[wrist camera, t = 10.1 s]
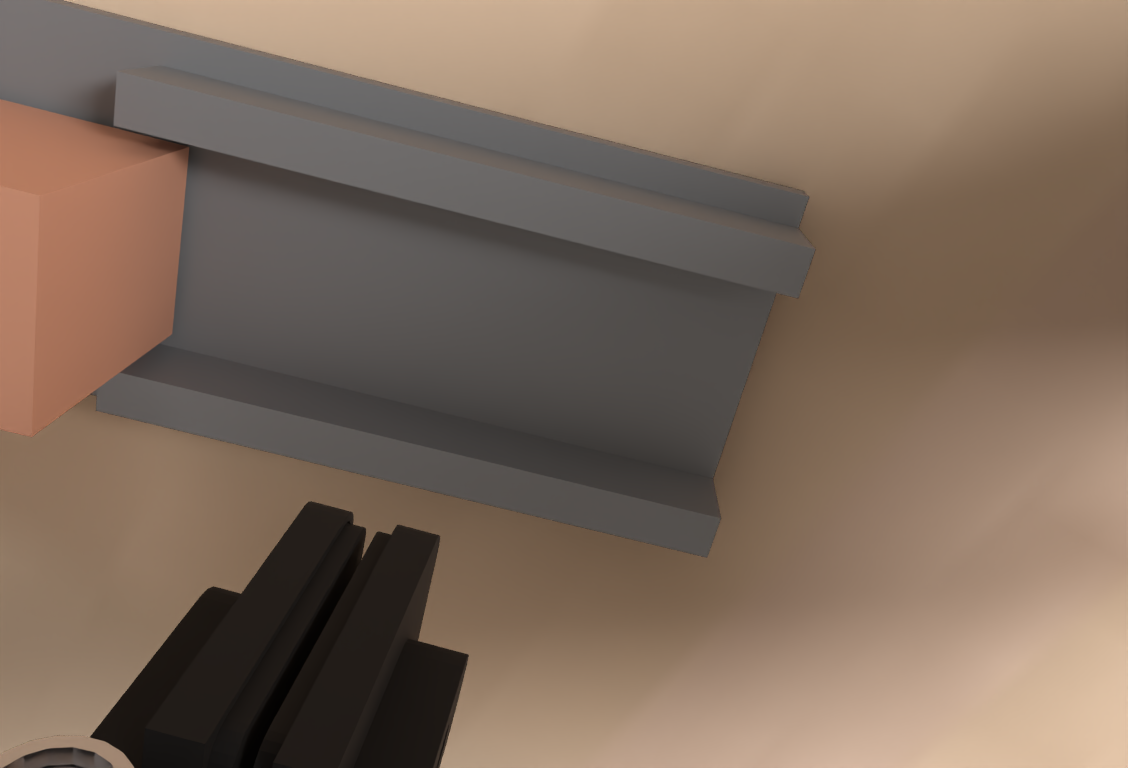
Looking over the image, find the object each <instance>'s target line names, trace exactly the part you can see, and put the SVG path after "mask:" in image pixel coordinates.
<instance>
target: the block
mask: <svg viewBox="0 0 1128 768" xmlns="http://www.w3.org/2000/svg"><path fill="white" fill-rule="evenodd" d="M188 156H189V147H188V146H184V145H180V144H176V143H172V142H168V141H164V140H160V139H156V138H152V137H148V136H144V135H140V134H137V133H133V132H129V131H125V130H121V129H117V128H113V127H109V126H105V125H101V124H97V123H93V122H89V121H85V120H81V119H77V118H73V117H69V116H65V115H61V114H57V113H53V112H49V111H45V110H41V109H38V108H34V107H30V106H26V105H22V104H18V103H14V102H10V101H6V100H2V99H0V430H4V431H9V432H13V433H17V434H21V435H25V436H30V437H32V436H34V435H35V434H36V433H38V432H39V431H41V430H42V429H43V428H45V427H46V426H47V425H49V424H50V423H51V422H53V421H54V420H56V419H57V418H58V417H60V416H61V415H62V414H64V413H65V412H66V411H68V410H69V409H71V408H72V407H73V406H75V405H76V404H77V403H79V402H80V401H81V400H83V399H84V398H86V397H87V396H88V395H90V394H91V393H92V392H94V391H95V390H96V389H98V388H99V387H101V386H102V385H103V384H105V383H106V382H107V381H109V380H110V379H111V378H113V377H114V376H116V375H117V374H118V373H120V372H121V371H122V370H124V369H125V368H126V367H128V366H129V365H131V364H132V363H133V362H135V361H136V360H137V359H139V358H140V357H141V356H143V355H144V354H146V353H147V352H148V351H150V350H151V349H152V348H154V347H155V346H156V345H158V344H159V343H161V342H162V341H163V340H165V339H166V338H167V337H169V336H170V335H171V334H172V330H173V319H174V309H175V298H176V287H177V276H178V265H179V254H180V243H181V232H182V222H183V211H184V200H185V189H186V178H187V167H188Z"/></svg>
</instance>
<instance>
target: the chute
mask: <svg viewBox="0 0 1128 768" xmlns="http://www.w3.org/2000/svg"><path fill="white" fill-rule="evenodd" d="M0 99H2V100H6V101H10V102H14V103H18V104H22V105H26V106H30V107H34V108H38V109H41V110H45V111H49V112H53V113H57V114H61V115H65V116H69V117H73V118H77V119H81V120H85V121H89V122H93V123H97V124H101V125H105V126H109V127H113V128H117V129H121V130H125V131H129V132H133V133H137V134H140V135H144V136H148V137H152V138H156V139H160V140H164V141H168V142H172V143H176V144H180V145H184V146H188V147H189V156H188V167H187V178H186V189H185V200H184V211H183V222H182V232H181V243H180V254H179V265H178V276H177V287H176V298H175V309H174V319H173V330H172V334H171V335H170V336H169V337H167V338H166V339H165V340H163V341H162V342H161V343H159V344H158V345H156V346H155V347H154V348H152V349H151V350H150V351H148V352H147V353H146V354H144V355H143V356H141V357H140V358H139V359H137V360H136V361H135V362H133V363H132V364H131V365H129V366H128V367H126V368H125V369H124V370H122V371H121V372H120V373H118V374H117V375H116V376H114V377H113V378H111V379H110V380H109V381H107V382H106V383H105V384H103V385H102V386H101V387H99V388H98V389H96V390H95V391H94V392H92V393H91V395H95V396H97V401H96V411H100V412H104V413H108V414H112V415H116V416H120V417H125V418H129V419H133V420H137V421H141V422H145V423H149V424H154V425H158V426H162V427H166V428H170V429H174V430H179V431H183V432H187V433H191V434H195V435H199V436H204V437H208V438H212V439H216V440H220V441H224V442H228V443H233V444H237V445H241V446H245V447H249V448H253V449H258V450H262V451H266V452H270V453H274V454H278V455H283V456H287V457H291V458H295V459H299V460H303V461H307V462H312V463H316V464H320V465H324V466H328V467H332V468H337V469H341V470H345V471H349V472H353V473H357V474H362V475H366V476H370V477H374V478H378V479H382V480H386V481H391V482H395V483H399V484H403V485H407V486H411V487H416V488H420V489H424V490H428V491H432V492H436V493H441V494H445V495H449V496H453V497H457V498H461V499H465V500H470V501H474V502H478V503H482V504H486V505H490V506H495V507H499V508H503V509H507V510H511V511H515V512H520V513H524V514H528V515H532V516H536V517H540V518H544V519H549V520H553V521H557V522H561V523H565V524H569V525H574V526H578V527H582V528H586V529H590V530H594V531H599V532H603V533H607V534H611V535H615V536H619V537H623V538H628V539H632V540H636V541H640V542H644V543H648V544H653V545H657V546H661V547H665V548H669V549H673V550H678V551H682V552H686V553H690V554H694V555H698V556H702V557H708V554H709V551H710V548H711V546H712V543H713V540H714V537H715V534H716V531H717V528H718V526H719V523H720V520H721V516H720V511H719V506H718V501H717V496H716V491H715V486H714V481H713V477H714V474H715V471H716V468H717V466H718V463H719V460H720V457H721V454H722V451H723V448H724V445H725V442H726V439H727V436H728V433H729V430H730V427H731V425H732V422H733V419H734V416H735V413H736V410H737V407H738V404H739V401H740V398H741V395H742V392H743V389H744V387H745V384H746V381H747V378H748V375H749V372H750V369H751V366H752V363H753V360H754V357H755V354H756V351H757V348H758V346H759V343H760V340H761V337H762V334H763V331H764V328H765V325H766V322H767V319H768V316H769V313H770V310H771V307H772V305H773V302H774V299H775V296H776V293H778V294H782V295H786V296H790V297H794V298H799V295H800V292H801V289H802V287H803V284H804V281H805V278H806V275H807V272H808V270H809V267H810V264H811V261H812V258H813V255H814V252H815V250H816V249H815V248H814V247H813V245H812V244H811V243H810V242H809V240H808V239H807V238H806V237H805V236H804V234H803V233H802V232H801V231H800V229H799V225H800V223H801V220H802V217H803V214H804V211H805V208H806V205H807V202H808V199H809V196H808V195H807V194H806V193H805V192H804V191H801V190H797V189H794V188H790V187H786V186H782V185H778V184H774V183H770V182H766V181H762V180H759V179H755V178H751V177H747V176H743V175H739V174H735V173H731V172H727V171H724V170H720V169H716V168H712V167H708V166H704V165H700V164H696V163H693V162H689V161H685V160H681V159H677V158H673V157H669V156H665V155H661V154H658V153H654V152H650V151H646V150H642V149H638V148H634V147H630V146H626V145H623V144H619V143H615V142H611V141H607V140H603V139H599V138H595V137H591V136H588V135H584V134H580V133H576V132H572V131H568V130H564V129H560V128H557V127H553V126H549V125H545V124H541V123H537V122H533V121H529V120H525V119H522V118H518V117H514V116H510V115H506V114H502V113H498V112H494V111H490V110H487V109H483V108H479V107H475V106H471V105H467V104H463V103H459V102H455V101H452V100H448V99H444V98H440V97H436V96H432V95H428V94H424V93H421V92H417V91H413V90H409V89H405V88H401V87H397V86H393V85H389V84H386V83H382V82H378V81H374V80H370V79H366V78H362V77H358V76H354V75H351V74H347V73H343V72H339V71H335V70H331V69H327V68H323V67H319V66H316V65H312V64H308V63H304V62H300V61H296V60H292V59H288V58H285V57H281V56H277V55H273V54H269V53H265V52H261V51H257V50H253V49H250V48H246V47H242V46H238V45H234V44H230V43H226V42H222V41H218V40H215V39H211V38H207V37H203V36H199V35H195V34H191V33H187V32H183V31H180V30H176V29H172V28H168V27H164V26H160V25H156V24H152V23H149V22H145V21H141V20H137V19H133V18H129V17H125V16H121V15H117V14H114V13H110V12H106V11H102V10H98V9H94V8H90V7H86V6H82V5H79V4H75V3H71V2H67V1H63V0H0Z"/></svg>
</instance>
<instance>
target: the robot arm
mask: <svg viewBox="0 0 1128 768" xmlns="http://www.w3.org/2000/svg"><path fill="white" fill-rule="evenodd" d="M365 537H366V529H365V528H364V527H360V526H356V525H353V513H352V512H349V511H345V510H342V509H338V508H334V507H330V506H327V505H323V504H319V503H315V502H312V501H311V502H308V503H307V504H306V505H305V506H304V508H303V509H302V510H301V512H300V513H299V515H298V516H297V517H296V519H295V520H294V521H293V523H292V524H291V526H290V527H289V528H288V530H287V531H286V533H285V534H284V535H283V537H282V538H281V540H280V541H279V542H278V544H277V545H276V546H275V548H274V549H273V551H272V552H271V553H270V555H269V556H268V558H267V559H266V560H265V562H264V563H263V565H262V566H261V567H260V569H259V570H258V572H257V573H256V574H255V576H254V577H253V578H252V580H251V581H250V583H249V584H248V585H247V587H246V588H245V590H244V591H243V592H242V594H240V593H236V592H232V591H228V590H225V589H221V588H217V587H211V588H209V589H207V590H206V591H205V592H204V593H203V594H202V595H201V596H200V598H199V599H198V600H197V601H196V603H195V604H194V605H193V607H192V608H191V609H190V610H189V612H188V613H187V614H186V616H185V617H184V618H183V619H182V621H181V622H180V623H179V624H178V626H177V627H176V628H175V630H174V631H173V632H172V633H171V635H170V636H169V637H168V638H167V640H166V641H165V642H164V644H163V645H162V646H161V647H160V649H159V650H158V651H157V652H156V654H155V655H154V656H153V658H152V659H151V660H150V661H149V663H148V664H147V665H146V666H145V668H144V669H143V670H142V672H141V673H140V674H139V675H138V677H137V678H136V679H135V680H134V682H133V683H132V684H131V686H130V687H129V688H128V689H127V691H126V692H125V693H124V694H123V696H122V697H121V698H120V700H119V701H118V702H117V703H116V705H115V706H114V707H113V709H112V710H111V711H110V712H109V714H108V715H107V716H106V717H105V719H104V720H103V721H102V723H101V724H100V725H99V726H98V728H97V729H96V730H95V731H94V733H93V734H92V735H91V737H86V736H65V735H57V736H52V737H46V738H41V739H36V740H31V741H28V742H26V743H23V744H21V745H19V746H16V747H14V748H11V749H9V750H6V751H4V752H3V753H2V754H0V768H439V767H440V764H441V760H442V757H443V753H444V750H445V746H446V743H447V739H448V736H449V732H450V728H451V725H452V721H453V717H454V713H455V709H456V706H457V702H458V698H459V694H460V690H461V686H462V682H463V678H464V674H465V670H466V666H467V661H468V657H469V655H468V654H464V653H460V652H456V651H453V650H449V649H445V648H441V647H438V646H434V645H430V644H427V643H423V642H419V641H418V638H419V633H420V629H421V624H422V620H423V615H424V611H425V606H426V602H427V597H428V593H429V588H430V584H431V579H432V575H433V570H434V566H435V561H436V557H437V552H438V548H439V542H440V536H439V535H435V534H431V533H428V532H424V531H420V530H416V529H413V528H409V527H405V526H401V525H397V526H396V528H395V529H394V531H393V533H392V535H390V534H386V533H382V532H377V533H376V535H375V536H374V538H373V540H372V542H371V544H370V546H369V547H368V549H367V551H366V553H365V555H364V556H363V558H362V553H363V548H364V543H365ZM361 559H362V560H361Z"/></svg>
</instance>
